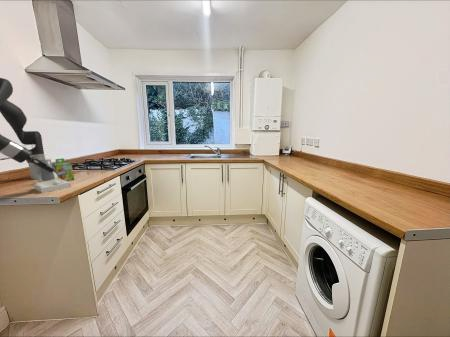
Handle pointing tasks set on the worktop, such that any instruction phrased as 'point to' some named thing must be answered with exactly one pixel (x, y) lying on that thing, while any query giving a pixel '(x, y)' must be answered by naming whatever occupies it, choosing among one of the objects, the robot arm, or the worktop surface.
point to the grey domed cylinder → (44, 173)
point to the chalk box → (63, 170)
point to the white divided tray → (50, 184)
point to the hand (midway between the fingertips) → (50, 170)
